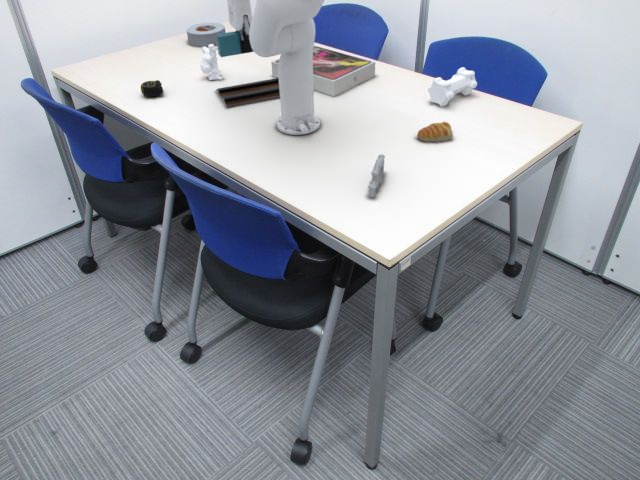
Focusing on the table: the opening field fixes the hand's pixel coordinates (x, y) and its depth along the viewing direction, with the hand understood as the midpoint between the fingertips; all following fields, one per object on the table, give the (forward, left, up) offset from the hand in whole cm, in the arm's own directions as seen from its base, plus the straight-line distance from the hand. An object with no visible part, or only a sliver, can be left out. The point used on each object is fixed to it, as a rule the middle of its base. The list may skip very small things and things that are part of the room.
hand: (244, 49), depth 165 cm
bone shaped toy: (-31, -56, -15) cm, 66 cm away
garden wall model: (-66, -13, -15) cm, 69 cm away
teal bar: (0, 0, -1) cm, 1 cm away
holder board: (0, -2, -14) cm, 14 cm away
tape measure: (+14, +28, -15) cm, 35 cm away
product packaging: (+4, -28, -15) cm, 32 cm away
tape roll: (+60, 0, -15) cm, 62 cm away
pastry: (-51, -39, -15) cm, 66 cm away
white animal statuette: (+19, +7, -15) cm, 25 cm away
